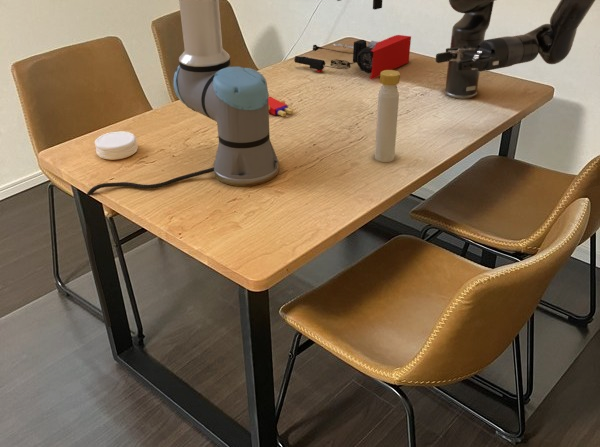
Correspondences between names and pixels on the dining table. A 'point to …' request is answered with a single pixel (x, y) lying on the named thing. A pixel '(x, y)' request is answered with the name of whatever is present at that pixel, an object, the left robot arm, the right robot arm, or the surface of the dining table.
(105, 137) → the white round container
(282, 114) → the toy figure
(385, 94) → the bottle
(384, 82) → the cap
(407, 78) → the dining table surface
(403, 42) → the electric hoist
